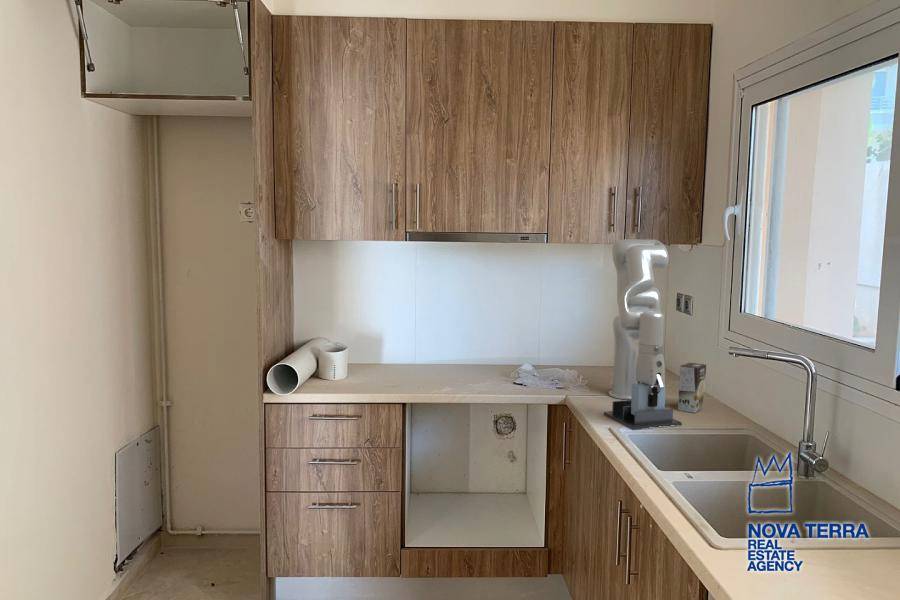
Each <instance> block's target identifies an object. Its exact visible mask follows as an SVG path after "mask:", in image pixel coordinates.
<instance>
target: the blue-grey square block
mask: <svg viewBox="0 0 900 600" xmlns="http://www.w3.org/2000/svg"><path fill="white" fill-rule="evenodd" d="M666 386H667V385H666V384H664V385H663V387H664V388H663V389H662V390H661V391H660V392H659V395H658V402H657V406H656V407H649V406H648V395H649V394H650V391H649V385H647V384H645V383H636V384H632V399H630V400H631V414H633V415H635V412H637V411H650V410H662V409H666V388H667V387H666ZM654 388H655V387H653V389H654Z"/></svg>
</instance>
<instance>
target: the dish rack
mask: <svg viewBox="0 0 900 600" xmlns="http://www.w3.org/2000/svg"><path fill="white" fill-rule="evenodd" d="M631 400H632V399H625V400H615V401H613V400H612V404H611V405H612V408H611V409H612V410H611V411H603V415H604V416H605V417H608V418H610V419H612V420H613V421H616V422H617V423H619V424H621V425H622V426H625V427H627V428H629V429H631V430H636V431H637V430H643V429H642V428H648V429H650V428H649V427H659V426H671V425H675V426H674V427H677V426H676V425H683V422H682V421H680V420H677V419H675V418H674V408H665V409H662V410H650V411H637V412H635V415H633V414H631ZM671 427H672V426H671ZM659 428H660V427H659Z"/></svg>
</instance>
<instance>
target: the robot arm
mask: <svg viewBox="0 0 900 600" xmlns="http://www.w3.org/2000/svg"><path fill="white" fill-rule="evenodd" d="M611 256H612V261H613V264H614V267H615V271H616V278H617V279H616V282H617V283H616V288H617V289H616V300H617V301H616V302H617V307H618V308H617V309H618V315H617V316H615V317H614V319H613V320H612V321H613V322H612V331H613V340H614V342H613V343H614V357H613V380H612V382H610V384H609V385H610V386H611V387H612V389H611V390H608V395H609V396H610V397H611V398H615V399H619V400H632V384H636V383H645V384H647V385H649V391H650V394H649V395H648V406H649V407H656V406H657V402H658V395H659V392H660V391H661V390H662V389H663V388H664V387H663V385H664V384H665V383H666V368H665V367H666V365H665V364H666V363H665V357H664V355H663V349H664V327H665V325H664V323H665V316H664V314H663V313H662V298H661V293H660V290H659V289H658V288H657V287H655V275H654V271H653V270H654V269H657V270H658V269H659V270H661V269H666V268H667V267H668V265H669V261H670V259H669V257H670V256H669V252H668V248H667V247H666V246H665V245H664V243H662V242H661V241H659V240H658V239H640V238H639V239H638V238H636V239H635V238H634V239H633V238H631V239H630V238H628V239H627V238H626V239H619V240H616V241H615V242H614V243H613V244H612V248H611ZM636 340H637V341H638V345H637V344H636V343H635V341H636ZM665 385H666V384H665ZM653 387H655V388H654V389H653Z"/></svg>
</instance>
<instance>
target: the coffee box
mask: <svg viewBox="0 0 900 600" xmlns="http://www.w3.org/2000/svg"><path fill="white" fill-rule="evenodd" d="M679 367H680V368H679V383H678V399H677V400H678V402H677V404H678V405H677V406H678V407H677V410H678V411H681V412H685V413H691V414H696V413H698V412H700V411H702V410H703V409H704V408H705V391H706V377H707V375H706V374H707V373H706V372H707V364H704V363H696V362H687V363H684V364H681V365H679Z"/></svg>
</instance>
